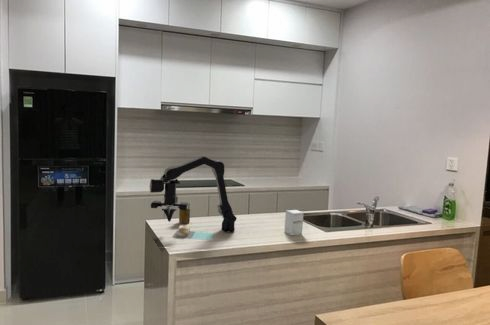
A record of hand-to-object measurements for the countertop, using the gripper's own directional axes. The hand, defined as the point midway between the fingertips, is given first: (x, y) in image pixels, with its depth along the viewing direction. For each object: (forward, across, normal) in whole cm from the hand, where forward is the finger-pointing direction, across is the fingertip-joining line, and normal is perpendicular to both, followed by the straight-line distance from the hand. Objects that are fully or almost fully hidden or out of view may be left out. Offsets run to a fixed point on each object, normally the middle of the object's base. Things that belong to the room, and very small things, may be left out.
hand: (169, 221), depth 203 cm
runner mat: (+7, -13, 0) cm, 15 cm away
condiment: (+7, -4, -21) cm, 22 cm away
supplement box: (+7, -66, -17) cm, 68 cm away
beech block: (+6, -8, 0) cm, 10 cm away
